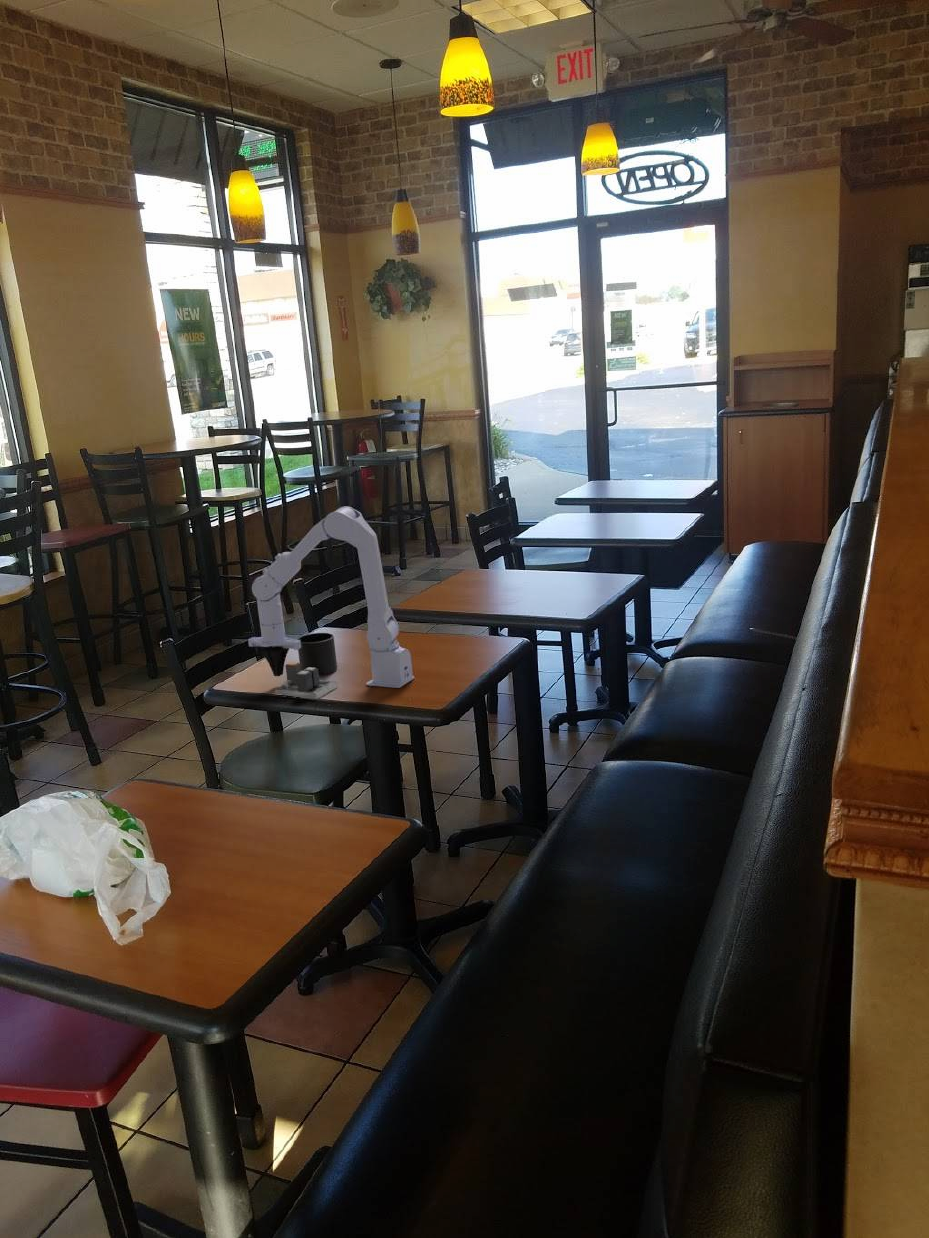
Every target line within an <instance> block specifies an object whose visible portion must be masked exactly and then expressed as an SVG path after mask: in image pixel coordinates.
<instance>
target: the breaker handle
mask: <svg viewBox="0 0 929 1238" xmlns="http://www.w3.org/2000/svg"><path fill="white" fill-rule="evenodd" d="M284 667H285V673H286V680H287V681H288V682H290V681H297V680H296V674H297V673H299V672H301V663H300V662H296V661H291V662H287V664H284Z"/></svg>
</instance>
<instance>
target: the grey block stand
mask: <svg viewBox="0 0 929 1238" xmlns="http://www.w3.org/2000/svg"><path fill="white" fill-rule="evenodd" d="M296 680H297V681H288V682H287V683H285V684H283V685H281V686H279V687H277V688H275V689H274V695H275V694H281V695H288V696H289V695H290V696H295V697H294V698H296V697H300V699H309V700H319V699H320V698H323V697H324V696H325V695H327V694H328V693H330V692H332V691H334V690H335V689H338V682H337V681H335V680H324V679H320V676H319V672H318V668H311V667H308V668H306V669H304V670H303V671H301V672H299V673H297V674H296Z"/></svg>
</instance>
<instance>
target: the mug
mask: <svg viewBox="0 0 929 1238" xmlns="http://www.w3.org/2000/svg"><path fill="white" fill-rule="evenodd" d="M296 640H300V641H301V648H300V649H298V650H297V651H298V659H299V660H298V661H299V662H298V663H301V671H303V670H304V669H306V668H308V667H311V668H318V672H319V677H322V676H327V675H330V674H332V673H333V674H334V672H336V671H337V669H338V663H337V653H336V644H335V636H334V635H333V633H329V632H315V633H308V634H305V635H302V636H299V637H298V638H297V639H296Z"/></svg>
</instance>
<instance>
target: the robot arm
mask: <svg viewBox="0 0 929 1238" xmlns="http://www.w3.org/2000/svg"><path fill="white" fill-rule="evenodd" d="M331 538H333V539H336V540H339V541H340V540H341V541H344V542H346V543H348V544H350V545H352V546H353V547H355V548H356V549H357V555H358V561H359V567H360V571H361V577H362V583H363V589H364V593H365V595H364V596H365V601H366V606H367V611H368V612H367V633H366V634H365V635H366V636H365V637H366V638H365V639H366V643H367V645H368V646H369V654H370V655H369V656H370V664H371V667H370V668H371V675H372V679H371V680H369V681H367V682H366V683H365V685H366V686H373V687H382V688H396V689H400V688H402V687H403V686H404V685H406V684H408V683H409V682H410V681H412V680H414V679H415V676H414V673H413V666H412V655H411V653H410V650H409V649H407V648H404V647H401V646H400V643H399V641H398V639H397V637H398V635H399V633H400V626H399V623H398V621H397V620H396V618H395V617H394V613H393V612H394V611H393V610H392V609H391V607H390V606H389V600H388V593H387V588H386V583H385V582H386V581H385V577H384V576H385V575H384V570H383V564H382V559H381V552H380V547H379V542H378V536H377V533H376V532H375V531H374V529H372V527H371V526H370V525H369V523H368V522H367V521H366V520H365V518H364V517H363V514H362V513H361V512H360V511H358V510H357V509H354V508H353V507H351V506H344V505H343V506H340V507H338V508H337V509H336V510H335V511H332V512H330V513H328V514H327V515H326V517H324V518H323V519H321V520H319V522H318V523H316V524H315V525H314V526H313V527H311V529H310V530H309V531H308V533H306V535H305V536H304V537H302V539H301V540H300V542H298V543H297V544H296V546H295V547H294V548H293V549H292V550H291V551H285V552H282V553H277V555H275V557H274V559H275V560H274V561H273V563H271V565H270V566H269V567H265V568H264V569H263V570H262V573H263V574H262V575H261V576H257V577H256V578H255V580H254V581H253V582H252V584H251V591H252V595H253V596H254V597H255V598H256V604H257V612H258V613H257V614H258V620H259V627H260V633H261V635H260V636H259V637H258V636H255V637H253V636H252V637H251V638H248V641H247V642H248V647H252V648H253V647H263V649H261V652H260V653H261V655H262V656H263V657H264V659H265V660H266V662H267V663H268V665H269V667H270V670H271V671H272V674H273V677H281V676H282V675H284V670H285V669H284V668H285V662H286V658H287V656H288V652H289V651H290V649H292V650H294V651H298V649H300V648H301V641H300V640H297V639H294V638H290V637H286V629H285V623H284V615H283V614H284V613H283V605H282V601H281V592H282V590H283V587H285V586H286V584H287V583H288V582H290V580H291V579H292V578H293V577H294V576H295V575H297V573H298V572H299V571H300V570H301V568H302V561H303V559H304V558H305V557H306V556H307V555H308V554H310V552H311V551H312V550H313V549H315V548H316V547H317V545H319V544H320V543H321V542H322V541H326V540H329V539H331Z"/></svg>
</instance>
